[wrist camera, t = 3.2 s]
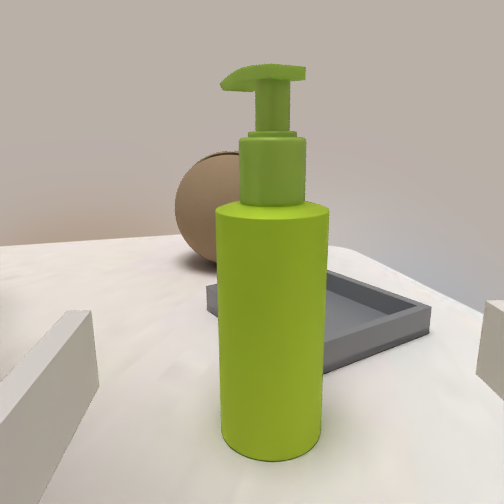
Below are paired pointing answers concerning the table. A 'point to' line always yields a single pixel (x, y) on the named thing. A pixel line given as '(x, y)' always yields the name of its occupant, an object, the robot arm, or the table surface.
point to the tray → (360, 320)
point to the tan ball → (206, 199)
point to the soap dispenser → (271, 282)
